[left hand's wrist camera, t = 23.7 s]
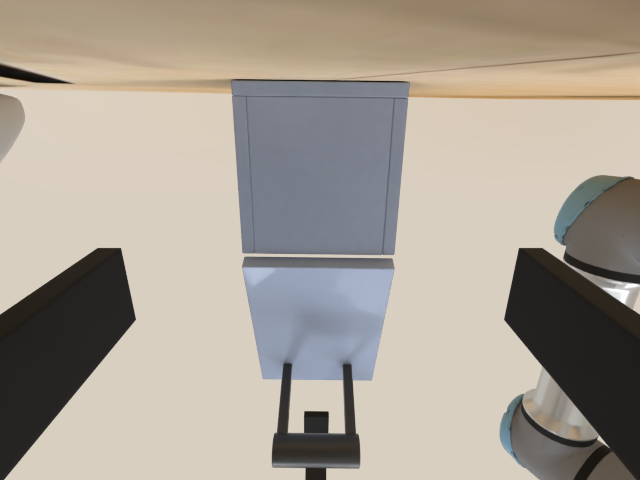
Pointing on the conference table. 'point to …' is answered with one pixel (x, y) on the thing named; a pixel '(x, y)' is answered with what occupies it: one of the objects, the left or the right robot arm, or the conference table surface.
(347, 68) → the conference table surface
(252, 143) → the chest
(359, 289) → the lid
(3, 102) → the projector
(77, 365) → the left robot arm
